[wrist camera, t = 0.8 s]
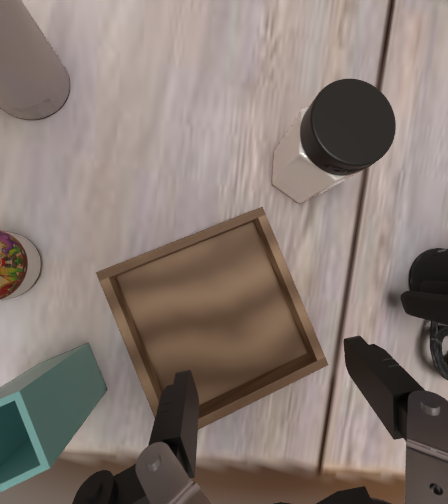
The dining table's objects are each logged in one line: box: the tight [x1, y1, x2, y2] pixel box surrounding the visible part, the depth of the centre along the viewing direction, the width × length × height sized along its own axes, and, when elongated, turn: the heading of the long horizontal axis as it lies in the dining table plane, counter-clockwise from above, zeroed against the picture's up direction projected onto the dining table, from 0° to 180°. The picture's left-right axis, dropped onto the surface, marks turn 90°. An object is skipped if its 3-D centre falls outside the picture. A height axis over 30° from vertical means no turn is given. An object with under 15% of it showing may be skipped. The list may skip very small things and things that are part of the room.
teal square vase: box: [0, 343, 107, 492], centre depth 24 cm, size 6×6×12 cm
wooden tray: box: [96, 207, 328, 429], centre depth 31 cm, size 20×20×4 cm
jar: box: [272, 79, 396, 203], centre depth 29 cm, size 9×8×12 cm
